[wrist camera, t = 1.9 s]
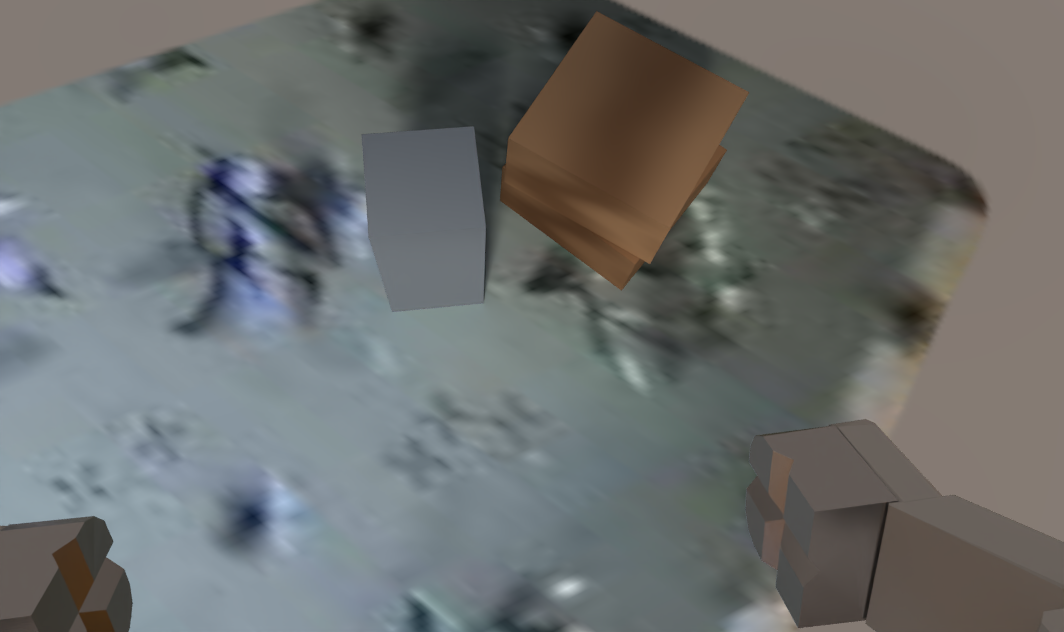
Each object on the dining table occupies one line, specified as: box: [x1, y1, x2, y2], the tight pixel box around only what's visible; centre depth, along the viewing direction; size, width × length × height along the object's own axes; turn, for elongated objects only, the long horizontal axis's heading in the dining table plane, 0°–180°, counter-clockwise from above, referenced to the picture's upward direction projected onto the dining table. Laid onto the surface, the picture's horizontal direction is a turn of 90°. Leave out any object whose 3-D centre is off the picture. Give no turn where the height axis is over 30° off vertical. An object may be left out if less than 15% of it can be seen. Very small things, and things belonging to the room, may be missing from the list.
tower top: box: [504, 11, 749, 264], centre depth 32 cm, size 7×7×4 cm
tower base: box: [500, 145, 727, 291], centre depth 35 cm, size 7×7×4 cm
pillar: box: [362, 126, 486, 312], centre depth 31 cm, size 4×4×8 cm
